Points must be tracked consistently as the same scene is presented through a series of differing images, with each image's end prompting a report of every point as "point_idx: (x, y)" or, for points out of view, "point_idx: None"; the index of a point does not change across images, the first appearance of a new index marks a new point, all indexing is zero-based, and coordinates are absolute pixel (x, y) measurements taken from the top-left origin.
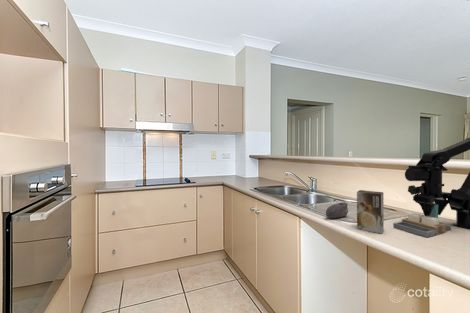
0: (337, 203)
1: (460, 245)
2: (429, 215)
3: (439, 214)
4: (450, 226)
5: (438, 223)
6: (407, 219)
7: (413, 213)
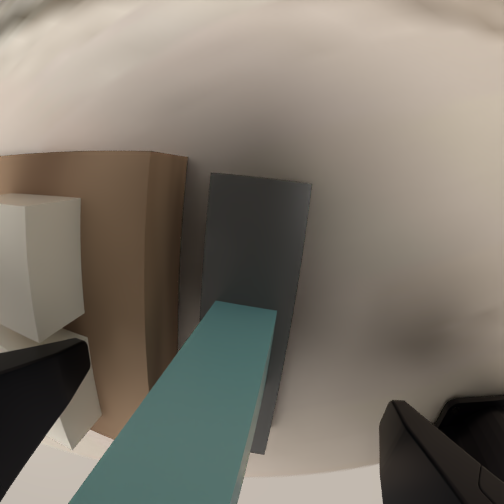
0: None
1: (48, 438)
2: (66, 395)
3: (380, 433)
4: (263, 448)
5: (96, 419)
6: (9, 189)
7: (4, 225)
